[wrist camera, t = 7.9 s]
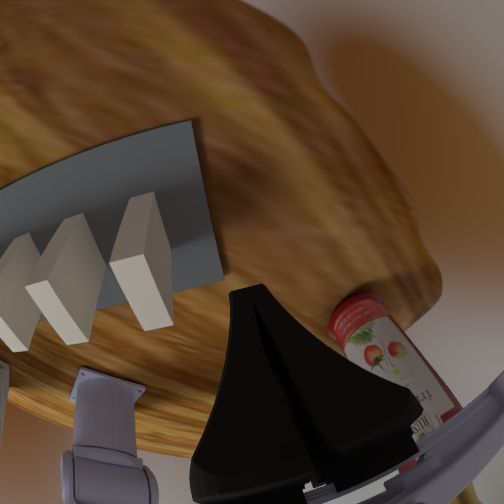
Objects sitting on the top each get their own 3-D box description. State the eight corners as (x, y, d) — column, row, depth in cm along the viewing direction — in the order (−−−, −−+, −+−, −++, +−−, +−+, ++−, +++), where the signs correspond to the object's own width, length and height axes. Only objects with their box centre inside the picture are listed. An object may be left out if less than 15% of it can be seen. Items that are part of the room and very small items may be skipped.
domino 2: (83, 212, 16) (47, 280, 10) (106, 265, 18) (88, 341, 13) (64, 219, 16) (24, 286, 10) (88, 270, 18) (67, 345, 13)
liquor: (360, 271, 26) (517, 516, 3) (387, 297, 30) (512, 490, 7) (307, 320, 28) (426, 566, 5) (342, 338, 32) (444, 533, 9)
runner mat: (190, 119, 15) (191, 120, 15) (223, 276, 22) (224, 280, 22) (-73, 238, 11) (-76, 241, 11) (-17, 329, 18) (-19, 332, 18)
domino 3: (153, 191, 16) (143, 253, 11) (171, 249, 19) (173, 324, 13) (129, 198, 16) (108, 262, 11) (149, 254, 19) (144, 331, 13)
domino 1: (29, 232, 15) (-13, 297, 10) (54, 279, 18) (28, 350, 12) (15, 238, 15) (-27, 301, 9) (40, 284, 18) (13, 352, 12)
